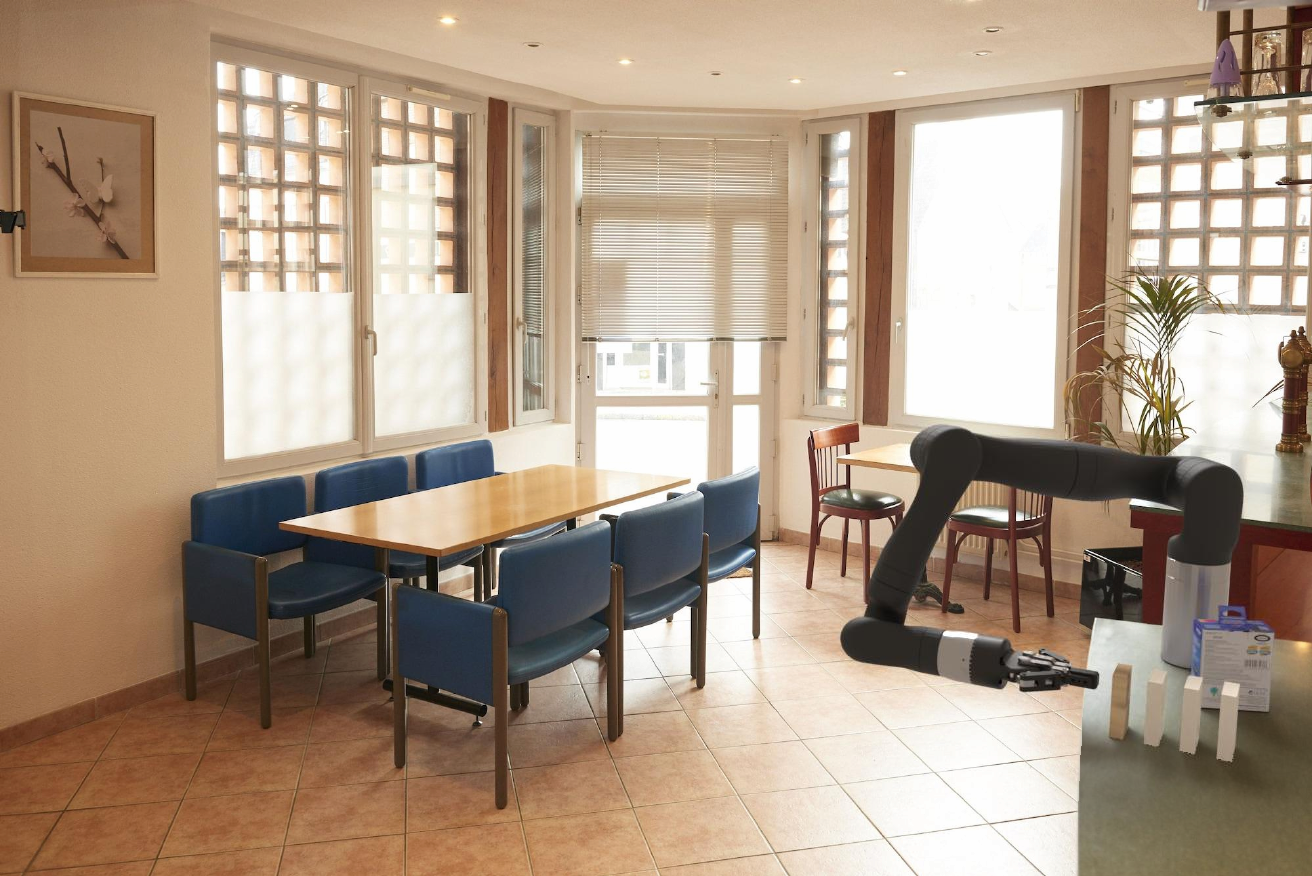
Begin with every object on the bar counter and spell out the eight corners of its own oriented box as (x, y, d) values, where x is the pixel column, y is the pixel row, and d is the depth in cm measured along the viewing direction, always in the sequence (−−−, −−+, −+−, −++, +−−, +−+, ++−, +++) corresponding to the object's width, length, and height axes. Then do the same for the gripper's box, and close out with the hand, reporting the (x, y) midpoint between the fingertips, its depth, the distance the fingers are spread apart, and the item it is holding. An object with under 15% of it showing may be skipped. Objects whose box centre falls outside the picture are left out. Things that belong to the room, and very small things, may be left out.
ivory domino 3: (1219, 744, 145) (1224, 681, 143) (1235, 747, 144) (1239, 684, 142) (1216, 759, 141) (1221, 694, 139) (1232, 762, 140) (1237, 697, 138)
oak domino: (1114, 723, 152) (1118, 663, 150) (1128, 726, 151) (1132, 665, 149) (1108, 737, 148) (1112, 675, 146) (1122, 739, 147) (1126, 677, 145)
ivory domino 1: (1149, 730, 149) (1153, 669, 148) (1163, 733, 149) (1167, 671, 147) (1143, 744, 145) (1147, 681, 144) (1158, 747, 144) (1162, 683, 143)
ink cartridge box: (1258, 698, 160) (1265, 605, 157) (1271, 713, 154) (1279, 617, 152) (1186, 694, 162) (1193, 601, 159) (1197, 709, 156) (1204, 613, 154)
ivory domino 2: (1184, 737, 147) (1188, 675, 146) (1198, 740, 146) (1203, 677, 145) (1179, 751, 143) (1183, 687, 141) (1194, 754, 142) (1199, 690, 141)
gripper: (961, 648, 153) (1090, 671, 144) (987, 621, 164) (1108, 640, 155) (960, 698, 154) (1087, 723, 145) (985, 668, 165) (1105, 690, 156)
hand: (1098, 680), depth 150 cm, fingers closed
